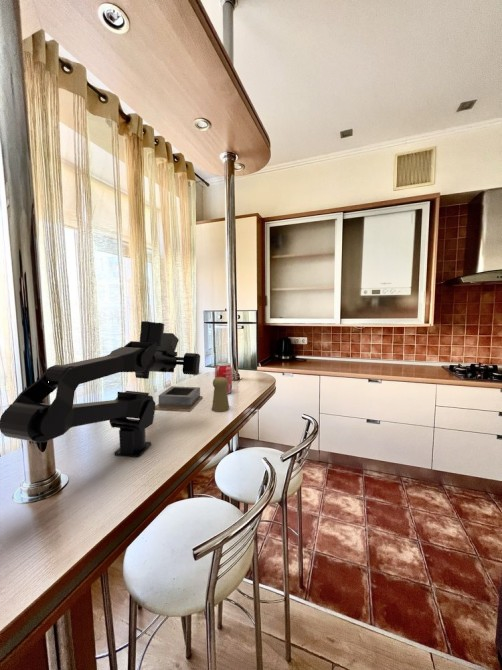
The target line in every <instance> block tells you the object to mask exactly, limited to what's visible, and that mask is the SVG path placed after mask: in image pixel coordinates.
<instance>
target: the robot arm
mask: <svg viewBox="0 0 502 670" xmlns="http://www.w3.org/2000/svg"><path fill="white" fill-rule="evenodd" d="M164 331H165V323H162V322H154V321H153V322H152V321H147V320H145V321H144V320H143V321H142V320H141V322H140V337H139V341H138V340H137V341H132V340H131V341H129V342H128V343H127V344H125V345H124V346H121V347H118V348H115V349H113V350H112V351H110V352H109V354H107V355H103V356H100V357H95V358H91V359H90V358H88V359H85V360H80V361H79V360H78V361H76V362H70V363H64V364H54V365H52V366H49V367H48V368H46V370H45V371H44V372H43V373H42V375H41V376H40V377H39V378H38V379H37V380H36V381H35V382H33V383H32V384H31V385H29V386H28V387H27V388H25V389H24V390H23V391H21V392H20V393H19V395H18V396H17V397H16V398H15V399H14V401H13V402H12V403H10V404H9V406H8V407H7V408H6V409H5V410H4V411H3V413H2V414H1V416H0V433H1V434H3V436H4V437H7V438H11V439H16V440H22V441H29V442H36V443H46V442H49V441H52V440H53V439H56V438H58V437H61V436H64V434H66V433H67V432H68V431H69V430H70V429H72V428H74V427H75V428H76V427H81V426H86V425H90V424H97V423H101V422H102V423H103V422H107V421H109V424H110V427H111V428H115V429H117V428H118V435H119V436H118V437H119V439H118V440H119V447H118V449H117V450H116V451H114V453H113V454H114V456H120V457H121V456H124V457H136V458H138V457H141V456H142V455H143V453H144V452H145V451H146V450H147V449H148V448H149V447H150V446H151V445H152V442H151V441H146V439H147V438H146V437H147V436H146V429H147V428H149V427H151V426H152V425H153V424H154V419H155V412H156V410H155V406H156V405H157V404H156V402H155V400H154V396H152V395H150V393H149V392H145V391H144V392H143V391H133V390H126V391H124V392H123V391H117V397H116V398H115V399H113V400H103V401H91V402H83V403H74V399H75V392H76V390H77V388H78V387H79V385H82V384H85V383H89V382H92V381H96V380H99V379H102V378H105V377H108V376H109V377H110V376H112V375H116V374H119V373H134V375H135V377H136V379H149V378H150V373H151V372H152V373H154V372H157V373H175V368H176V367H177V365H178V366H179V365H180V366H182V373H183V375H192V376H193V375H194V376H197V375H198V374H199V373H200V363H201V355H200V353H196V352H195V353H193V352H192V353H191V352H185V353H184V355H183V357H181V356H178V351H176V350H177V345H178V344H179V338H178V337H177V336H176V335H175V334H174V333H172V332H164ZM48 381H49V383H48ZM54 391H56V393H55V394H56V395H55V398H54V400H53V401H52V403H51V404H49V403H44V402H43V403H41V402H42V401H43V400H44V399H45V398H47V396H49V395H50V394H52V393H53V392H54Z"/></svg>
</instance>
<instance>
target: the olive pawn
mask: <svg viewBox="0 0 502 670" xmlns="http://www.w3.org/2000/svg"><path fill="white" fill-rule="evenodd" d="M227 385H228V380H227V379H226V378H224V377H217V378H215V377H214V378H213V381H212V386H213V387H214V389H213V396H212V406H211V407H212V408H211V411H213V412H215V413H223V412H224V413H225V412H228V411H229V410H230V405H229V398H228V397H229V396H228V394H227V389H226V387H227Z"/></svg>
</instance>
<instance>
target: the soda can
mask: <svg viewBox="0 0 502 670" xmlns="http://www.w3.org/2000/svg"><path fill="white" fill-rule="evenodd" d="M217 377H224V378H226V379H227V380H228V385H227V387H226V389H227V395H229V394H230V393H231V392H232V391H233V368H232V366H231V363H230V362H217V363H216V366H215V368H214V379H215V378H217ZM228 393H229V394H228Z"/></svg>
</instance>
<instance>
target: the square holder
mask: <svg viewBox="0 0 502 670" xmlns="http://www.w3.org/2000/svg"><path fill="white" fill-rule="evenodd" d="M201 400H203V395H201V387H197V386H196V387H194V386H172V385H171V386H170V387H168V388H167V389H166V390H164V391H163V392H161V393H159V395H158V404H155V405H156V406H155V411H166V412H187V413H188V412H189V413H190V412H191V411H192V410H193V409H195V407H196V406H197V405H198V404H199V403H200V402H201Z"/></svg>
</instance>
